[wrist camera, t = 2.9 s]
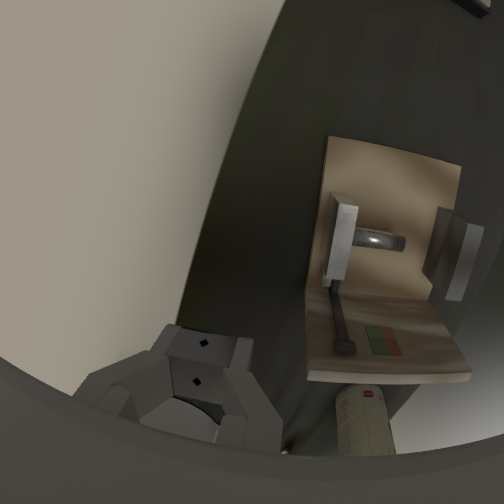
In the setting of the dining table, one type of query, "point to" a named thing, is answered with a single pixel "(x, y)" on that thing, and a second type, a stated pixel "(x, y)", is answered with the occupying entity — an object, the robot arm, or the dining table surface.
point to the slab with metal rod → (349, 238)
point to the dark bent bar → (340, 323)
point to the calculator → (475, 6)
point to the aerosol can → (363, 422)
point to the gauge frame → (391, 269)
